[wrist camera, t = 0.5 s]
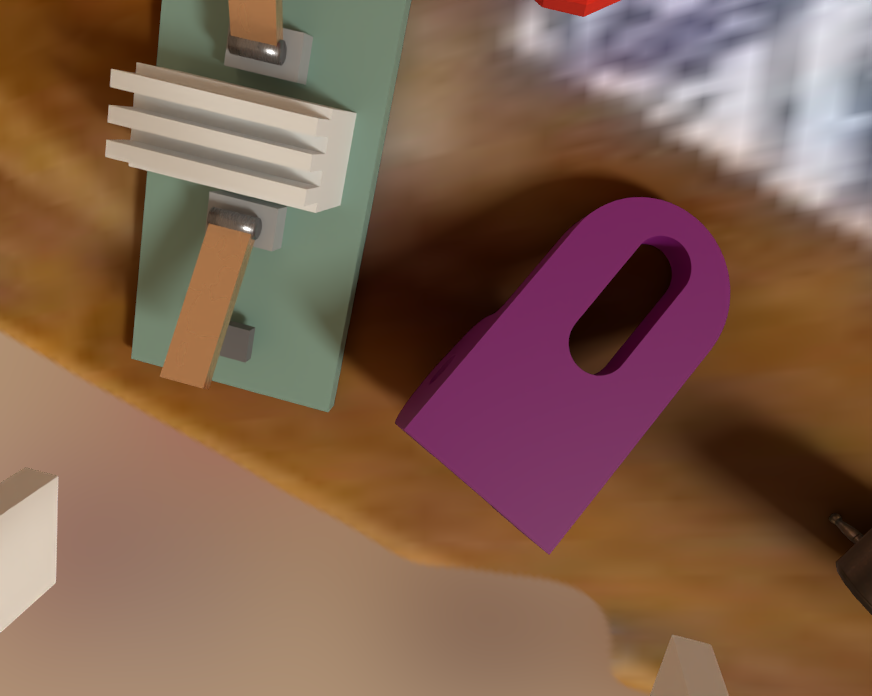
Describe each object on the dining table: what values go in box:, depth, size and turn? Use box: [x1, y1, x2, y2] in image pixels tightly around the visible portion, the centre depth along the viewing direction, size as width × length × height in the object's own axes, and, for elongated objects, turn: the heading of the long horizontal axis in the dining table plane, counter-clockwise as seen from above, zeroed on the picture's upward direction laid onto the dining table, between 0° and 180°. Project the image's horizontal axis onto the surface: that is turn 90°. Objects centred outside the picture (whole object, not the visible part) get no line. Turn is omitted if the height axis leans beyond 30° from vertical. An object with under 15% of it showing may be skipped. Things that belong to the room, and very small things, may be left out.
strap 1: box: [160, 207, 262, 389], centre depth 36 cm, size 10×3×1 cm, turn 167°
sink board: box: [105, 0, 411, 412], centre depth 35 cm, size 30×13×8 cm, turn 167°
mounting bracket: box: [395, 197, 730, 554], centre depth 38 cm, size 9×8×18 cm
